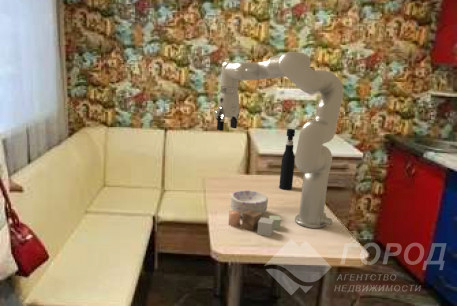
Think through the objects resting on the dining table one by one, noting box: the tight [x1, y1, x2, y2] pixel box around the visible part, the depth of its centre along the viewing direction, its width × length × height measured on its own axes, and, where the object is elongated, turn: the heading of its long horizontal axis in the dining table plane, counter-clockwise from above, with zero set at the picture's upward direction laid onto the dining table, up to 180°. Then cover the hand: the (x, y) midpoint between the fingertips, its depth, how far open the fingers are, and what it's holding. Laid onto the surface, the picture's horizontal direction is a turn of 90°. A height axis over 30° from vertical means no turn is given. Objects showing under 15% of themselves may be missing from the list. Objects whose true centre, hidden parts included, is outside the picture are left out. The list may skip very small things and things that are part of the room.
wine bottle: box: [278, 128, 296, 191], centre depth 209 cm, size 6×6×30 cm
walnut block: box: [241, 210, 262, 232], centre depth 160 cm, size 5×5×6 cm
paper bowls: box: [229, 189, 269, 218], centre depth 173 cm, size 15×15×8 cm
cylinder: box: [228, 209, 241, 228], centre depth 162 cm, size 4×4×5 cm
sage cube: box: [268, 215, 281, 230], centre depth 162 cm, size 4×4×4 cm
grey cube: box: [256, 216, 275, 237], centre depth 156 cm, size 5×5×5 cm
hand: (226, 129), depth 189 cm, fingers open, 9 cm apart
